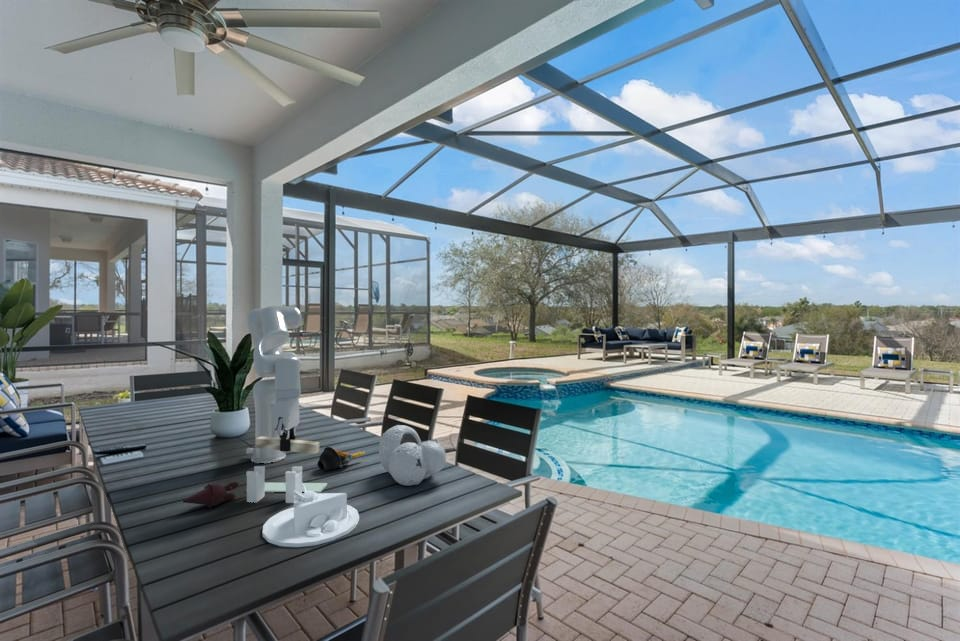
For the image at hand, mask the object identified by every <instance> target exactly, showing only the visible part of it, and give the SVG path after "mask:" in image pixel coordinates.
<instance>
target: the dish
mask: <svg viewBox="0 0 960 641" xmlns="http://www.w3.org/2000/svg"><path fill="white" fill-rule="evenodd" d="M300 482H301V484H302V486H303V489H304V491H305V492H304V493H302V494H300V493H298V492H297V491H295V490H294V491H293V492H292V494H293V495H294V503H293V507H292V506H291V507H289V508H287V509H284V510H281V511H279V512H278V513H275V514H274V515H273V516H270V517H269V518H268V519H267V520H266V522H264V524H263V525H262V537H263V538H264V540H266V542H268V543H270V544H273V545H276V546H278V547H284V548H285V547H287V548H303V547H304V548H305V547H312V546H313V547H315V546H318V545H321V544H325V543H330V542H333V541H335V540H338V539H340V538H341V537H345V536H346V535H347V534H349V533H350V532H352V531H353V530H354V529H356V527H357V526H358V523H359V521H360V514H359V511H358V510H357V509H356V508H354V507H353V506H351V505H350V504H348V493H347V492H336V493H335V492H329V493H328V492H324V493H323V492H320V493H316V492H314V491H306V488H305V486H304V484H303V483H304V482H303V480H302V481H300ZM356 525H357V526H356Z"/></svg>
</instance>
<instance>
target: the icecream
mask: <svg viewBox="0 0 960 641" xmlns="http://www.w3.org/2000/svg"><path fill="white" fill-rule="evenodd" d="M238 487H239V483H238V482H237V481H232V482H230V483H228V484H226V485H222V484H220V483H212V484H211V483H208V484H207V485H206V486H204V488H203V489H202V490H200V491H198V492H196V493H194V494H193V495H191V496H188V497H186V498H184V499H183V500H182V503H187V504H194V505H196V504H197V505H203V506H205V507H207V508H209V509H211V508H213V507H215V506H218V505H220V504H222V503H223V502H224V501H232V500H234V499H235V498H236V494H235V492H234V493H233V492H231V491H234V490H235V489H236V488H238ZM228 491H229V492H228ZM231 499H232V500H231Z"/></svg>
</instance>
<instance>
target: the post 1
mask: <svg viewBox="0 0 960 641" xmlns="http://www.w3.org/2000/svg"><path fill="white" fill-rule="evenodd" d="M265 471H266V465H254V467H253V470H247V471H246V474H245V475H246V490H247V492H246V503H247V502H249V503H250V502H251V504H252V503H253V502H254V503H255V504H257V503H258V502H260V500H262V499H263V498H264V497H265V496H266V495H265V494H266V492H265V476H266V475H265V473H266V472H265Z"/></svg>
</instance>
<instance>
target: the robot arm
mask: <svg viewBox="0 0 960 641" xmlns="http://www.w3.org/2000/svg"><path fill="white" fill-rule="evenodd" d="M302 319H303V317H302V313H301V311H300V309H299V308H298V307H297V306H292V305H291V306H290V305H272V306H267V307H263V308H254V309H251V310H250V311H249V312H248V313H247V326H248V330H249V333H250V335H251V337H252V340H253V342H254V349H253V364H254V370H255V373H256V375H257V376H258V377H261V378H270V379H261V380H259V381H257V382H256V383H254V385H253V387H252V396H253V402H254V410H255V412H254V413H255V415H254V417H255V425H254V426H255V427H254V428H255V432H254V433H255V434H254V435H255V439H254V440H255V442H256V438H258V437H260V436H263V437H273V438H279V439H280V450H273V449H263V448H255V447H247V448H246V453H245V454H246V455H252V456H251V458H250V461H251V463H253V462H254V463H253V464H259V463H264V464H272V463H271V462H273V463H277V462H280V461H283V460H284V459H286V457H287V453H286V452H291V451H290V439H293V440H296V434H297V433H296V432H297V427H298V425H299V424H300V416H301V414H300V412H301V411H300V400H299V399H300V398H301V393H302V392H301V389H302V388H301V387H302V386H301V376H300V375H301V374H300V373H301V372H300V370H301V364H302V363H301V359H300V358H299V357H298V355H297V354H296V353H294V352H293V351H279V347H281V346H283V345H285V344H286V343H287V342H288V341H289V339H290V333H289V330H295V329H298V328H299V327H300V326H301V325H302V321H303V320H302ZM273 377H274V378H273ZM282 459H283V460H282Z"/></svg>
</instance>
